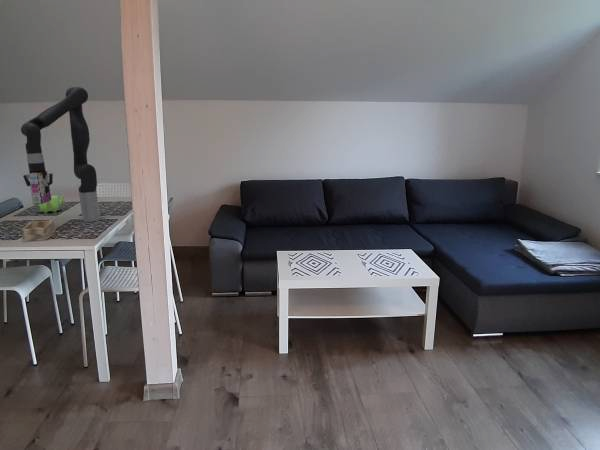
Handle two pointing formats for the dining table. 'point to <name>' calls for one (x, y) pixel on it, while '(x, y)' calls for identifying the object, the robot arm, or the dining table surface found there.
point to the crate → (37, 231)
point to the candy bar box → (39, 188)
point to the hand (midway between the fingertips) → (41, 193)
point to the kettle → (51, 204)
